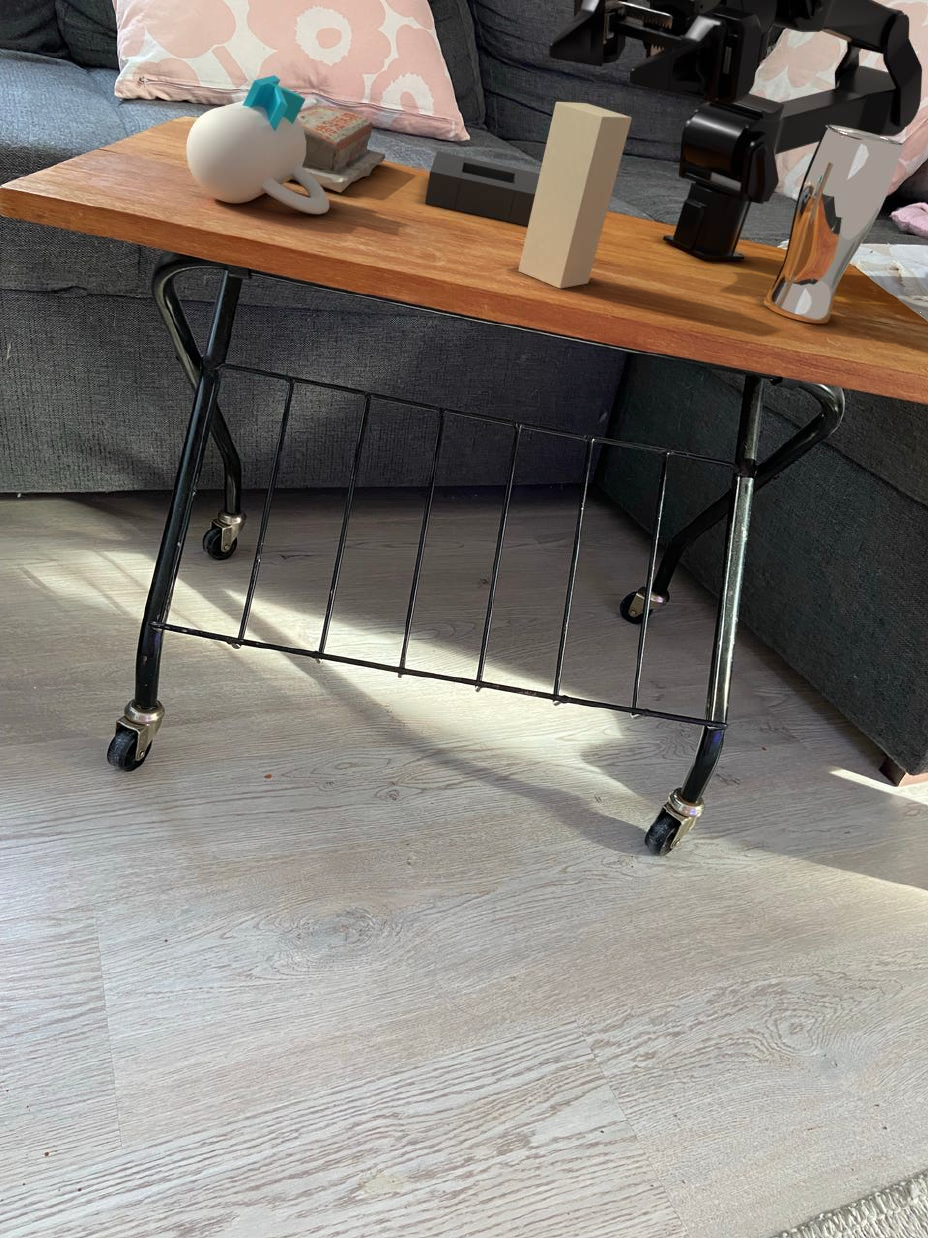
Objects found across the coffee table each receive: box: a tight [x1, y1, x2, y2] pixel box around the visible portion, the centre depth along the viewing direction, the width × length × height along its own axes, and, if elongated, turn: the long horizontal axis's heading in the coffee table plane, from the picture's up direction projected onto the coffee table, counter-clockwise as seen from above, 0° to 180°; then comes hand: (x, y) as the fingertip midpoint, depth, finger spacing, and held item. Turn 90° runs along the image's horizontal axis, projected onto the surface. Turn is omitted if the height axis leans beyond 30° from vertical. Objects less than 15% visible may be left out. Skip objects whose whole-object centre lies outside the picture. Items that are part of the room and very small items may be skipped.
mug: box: [185, 74, 330, 215], centre depth 83 cm, size 12×9×12 cm
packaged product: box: [290, 104, 386, 193], centre depth 99 cm, size 18×5×10 cm
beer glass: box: [763, 125, 905, 325], centre depth 86 cm, size 7×7×15 cm
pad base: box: [424, 150, 540, 227], centre depth 101 cm, size 11×11×3 cm
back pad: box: [518, 101, 633, 289], centre depth 80 cm, size 4×4×13 cm
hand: (589, 63), depth 80 cm, fingers open, 9 cm apart
